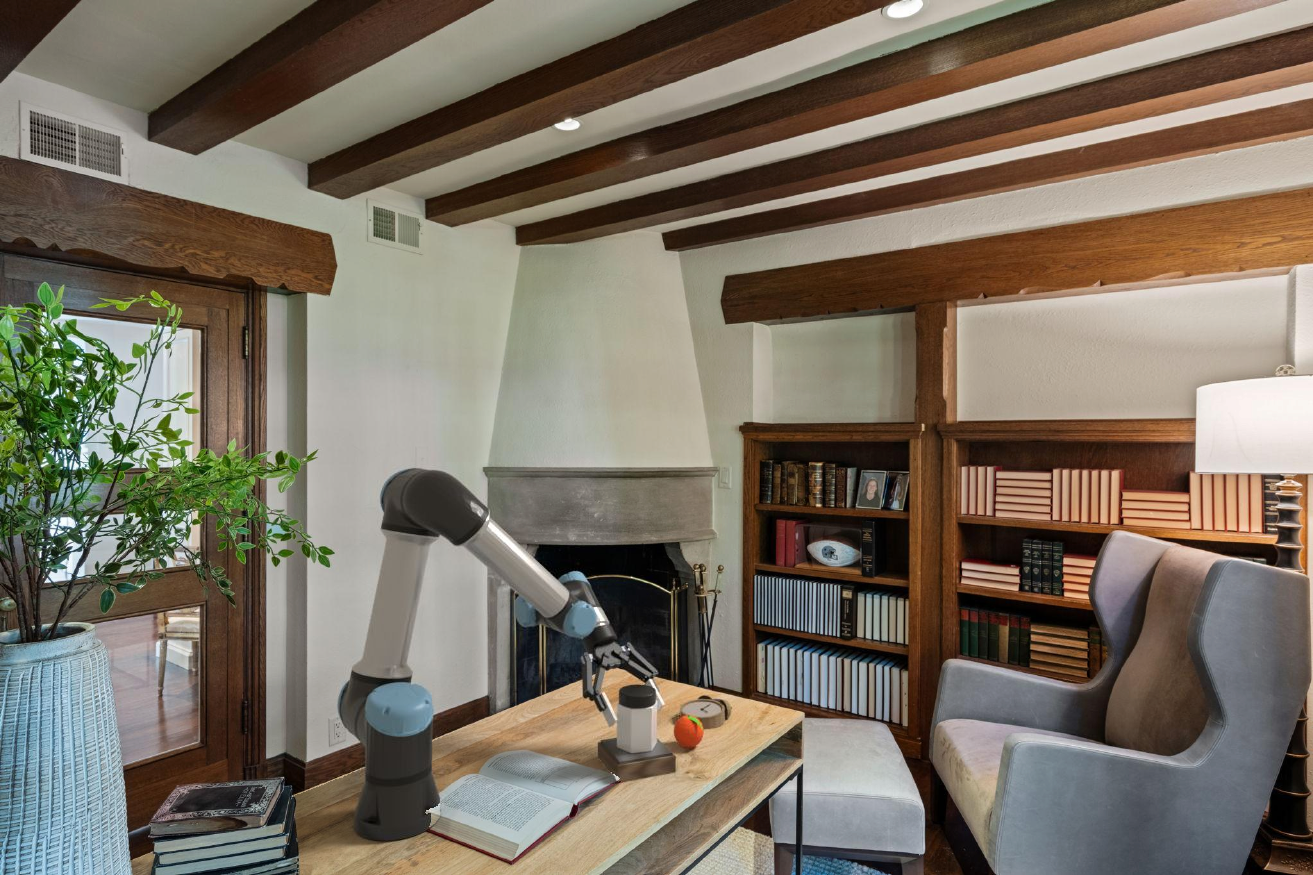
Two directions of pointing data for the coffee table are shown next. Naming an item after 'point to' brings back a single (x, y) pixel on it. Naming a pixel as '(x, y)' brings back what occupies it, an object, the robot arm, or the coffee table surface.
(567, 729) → the coffee table surface
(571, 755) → the coffee table surface
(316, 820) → the coffee table surface
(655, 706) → the jar
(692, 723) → the clementine
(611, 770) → the stand
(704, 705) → the alarm clock
